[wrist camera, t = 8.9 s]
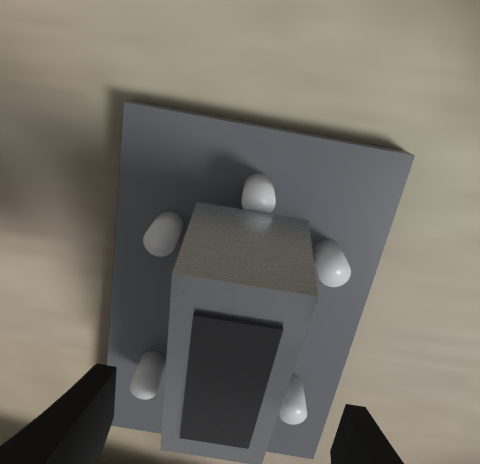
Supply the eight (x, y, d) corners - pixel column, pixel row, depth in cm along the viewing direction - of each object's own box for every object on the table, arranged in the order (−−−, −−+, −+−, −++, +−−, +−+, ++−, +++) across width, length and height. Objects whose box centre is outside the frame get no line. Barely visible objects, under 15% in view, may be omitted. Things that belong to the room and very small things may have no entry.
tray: (405, 150, 16) (434, 165, 13) (310, 442, 22) (317, 492, 19) (131, 100, 16) (106, 105, 13) (109, 408, 22) (89, 454, 19)
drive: (308, 220, 14) (318, 300, 11) (263, 379, 19) (261, 469, 16) (196, 201, 14) (170, 276, 11) (180, 365, 19) (159, 453, 16)
